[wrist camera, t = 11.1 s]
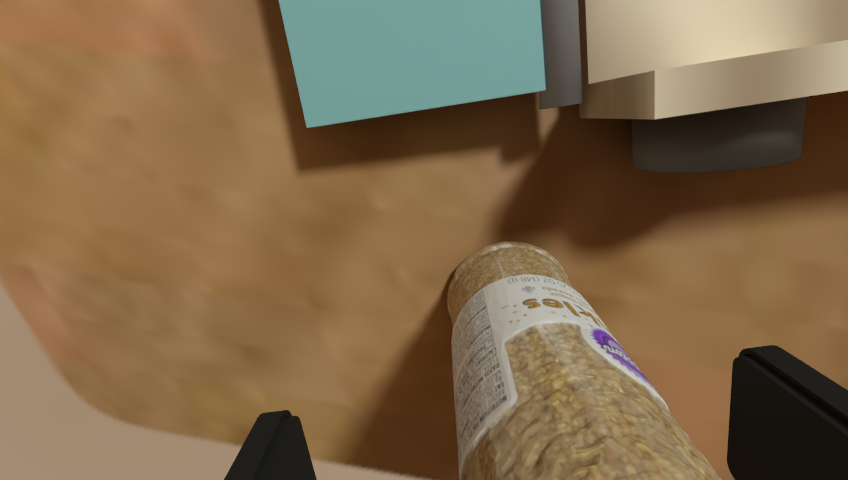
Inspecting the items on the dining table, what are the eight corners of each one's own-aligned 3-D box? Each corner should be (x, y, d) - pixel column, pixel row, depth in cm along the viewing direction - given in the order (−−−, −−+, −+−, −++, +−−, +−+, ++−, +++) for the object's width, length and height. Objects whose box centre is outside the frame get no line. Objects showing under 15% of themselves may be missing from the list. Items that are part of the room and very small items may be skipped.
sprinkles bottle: (590, 268, 15) (1382, 1053, 3) (529, 366, 17) (852, 1235, 4) (478, 216, 15) (739, 847, 2) (424, 321, 16) (376, 1126, 3)
